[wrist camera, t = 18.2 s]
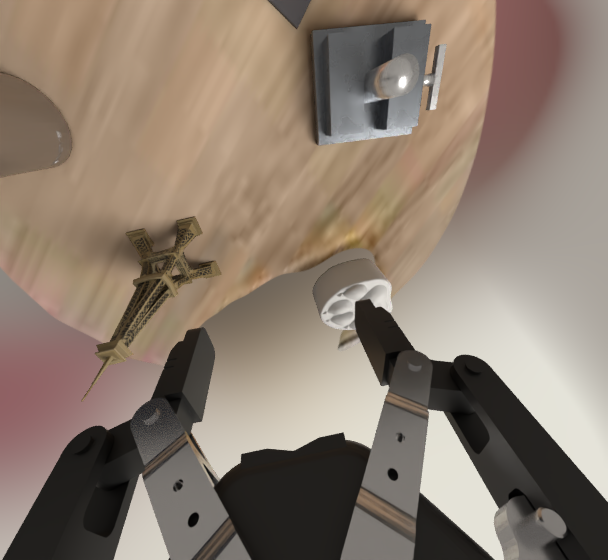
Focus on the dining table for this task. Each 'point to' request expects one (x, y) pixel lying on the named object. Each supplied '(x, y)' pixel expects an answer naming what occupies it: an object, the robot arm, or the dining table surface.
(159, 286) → the eiffel tower
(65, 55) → the dining table surface
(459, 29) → the dining table surface
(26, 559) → the robot arm
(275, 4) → the mat
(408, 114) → the vise
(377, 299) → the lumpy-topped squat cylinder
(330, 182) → the dining table surface
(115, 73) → the dining table surface
